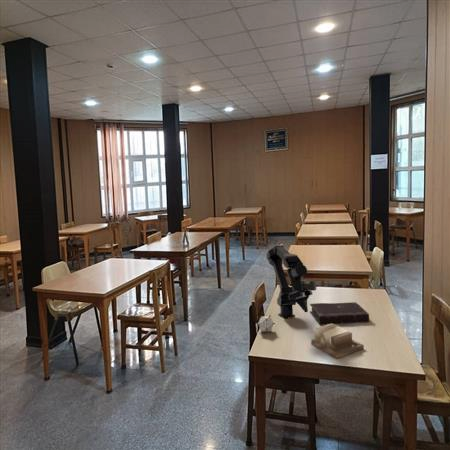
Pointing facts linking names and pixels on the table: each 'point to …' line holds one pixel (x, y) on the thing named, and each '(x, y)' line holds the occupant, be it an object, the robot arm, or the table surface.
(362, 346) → the felt tray
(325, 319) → the diary
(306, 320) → the table surface
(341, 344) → the maple block
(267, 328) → the white spiky ball
